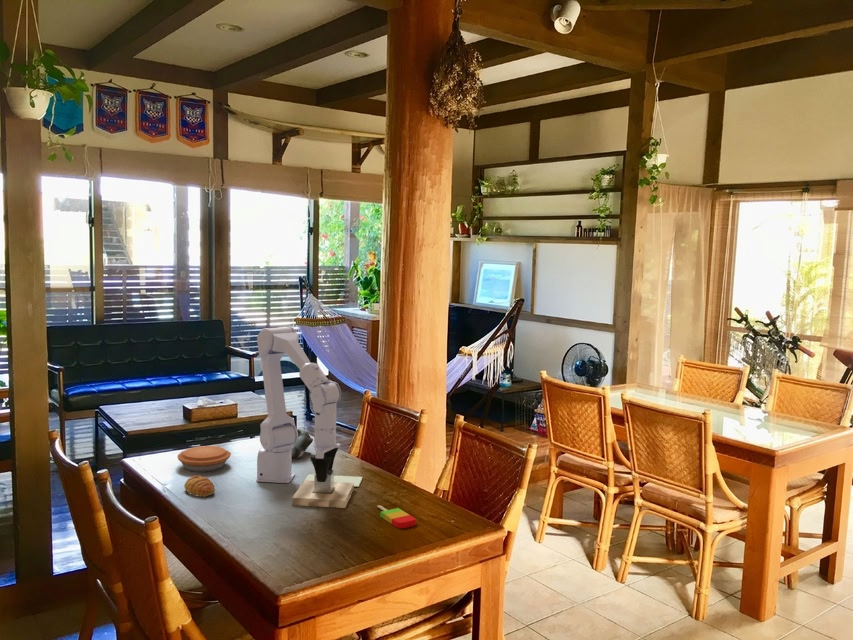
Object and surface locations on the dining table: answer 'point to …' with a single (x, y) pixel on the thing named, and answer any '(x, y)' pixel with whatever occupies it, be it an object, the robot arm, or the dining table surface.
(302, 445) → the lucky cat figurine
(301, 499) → the pocket board
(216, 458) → the pie
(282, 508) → the dining table surface
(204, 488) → the pastry
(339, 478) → the mat
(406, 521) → the popsicle
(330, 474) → the block
